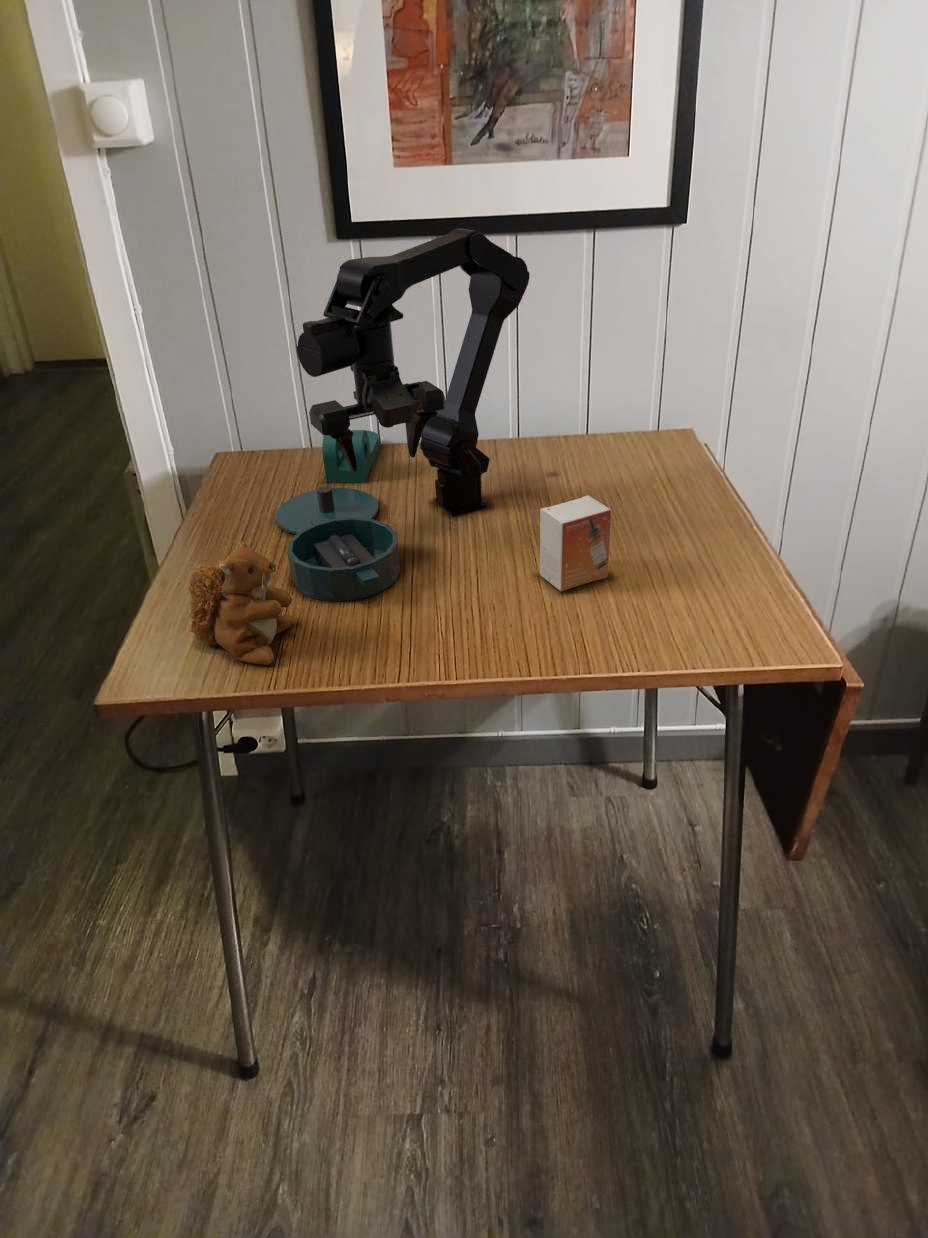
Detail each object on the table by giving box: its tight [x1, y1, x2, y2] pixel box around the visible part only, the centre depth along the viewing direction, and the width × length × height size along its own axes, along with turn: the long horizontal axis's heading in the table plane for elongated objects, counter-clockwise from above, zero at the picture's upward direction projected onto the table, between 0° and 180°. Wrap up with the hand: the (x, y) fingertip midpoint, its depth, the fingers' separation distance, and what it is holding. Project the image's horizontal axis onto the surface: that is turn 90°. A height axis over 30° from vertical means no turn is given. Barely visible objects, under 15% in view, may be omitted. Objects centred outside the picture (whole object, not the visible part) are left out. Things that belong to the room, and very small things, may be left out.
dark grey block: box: [313, 534, 374, 568], centre depth 132 cm, size 6×10×4 cm, turn 27°
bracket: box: [321, 429, 381, 483], centre depth 165 cm, size 18×7×8 cm, turn 174°
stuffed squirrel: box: [188, 541, 295, 666], centre depth 117 cm, size 10×14×13 cm
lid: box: [275, 485, 379, 535], centre depth 148 cm, size 16×16×5 cm
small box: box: [539, 494, 612, 592], centre depth 127 cm, size 8×6×10 cm
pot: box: [286, 517, 401, 602], centre depth 132 cm, size 15×21×5 cm
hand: (383, 463), depth 136 cm, fingers open, 9 cm apart
